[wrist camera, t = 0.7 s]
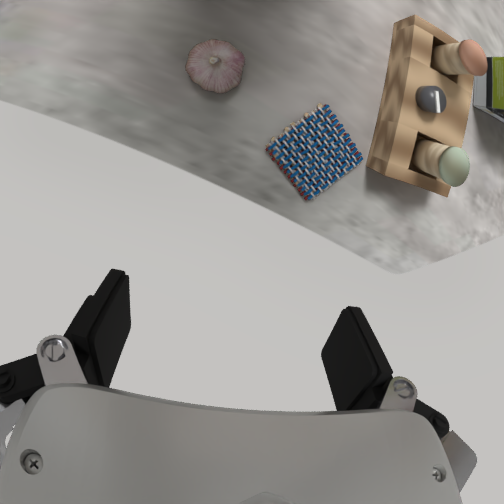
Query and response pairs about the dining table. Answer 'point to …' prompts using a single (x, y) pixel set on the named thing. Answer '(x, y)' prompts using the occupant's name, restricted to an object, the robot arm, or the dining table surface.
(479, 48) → the knob terracotta
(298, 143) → the woven mat
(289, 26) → the dining table surface
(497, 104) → the tea box
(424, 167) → the knob sage
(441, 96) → the dial
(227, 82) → the garlic bulb
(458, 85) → the panel
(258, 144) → the dining table surface
